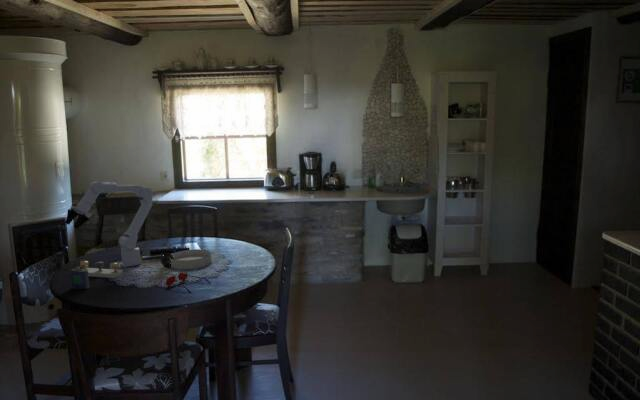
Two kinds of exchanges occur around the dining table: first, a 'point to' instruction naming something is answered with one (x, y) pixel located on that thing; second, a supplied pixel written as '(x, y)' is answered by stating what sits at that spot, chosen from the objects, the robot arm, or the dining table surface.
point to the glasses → (182, 277)
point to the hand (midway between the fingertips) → (71, 225)
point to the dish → (190, 259)
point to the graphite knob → (99, 264)
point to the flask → (80, 278)
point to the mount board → (103, 272)
